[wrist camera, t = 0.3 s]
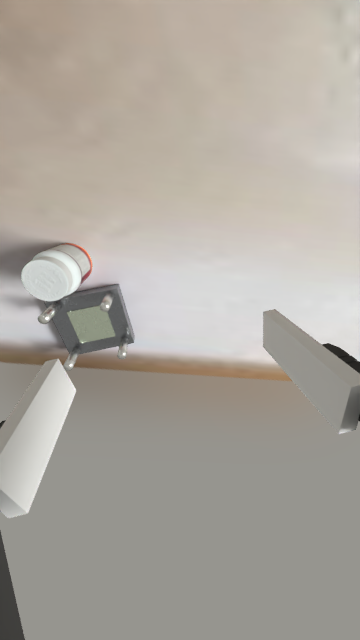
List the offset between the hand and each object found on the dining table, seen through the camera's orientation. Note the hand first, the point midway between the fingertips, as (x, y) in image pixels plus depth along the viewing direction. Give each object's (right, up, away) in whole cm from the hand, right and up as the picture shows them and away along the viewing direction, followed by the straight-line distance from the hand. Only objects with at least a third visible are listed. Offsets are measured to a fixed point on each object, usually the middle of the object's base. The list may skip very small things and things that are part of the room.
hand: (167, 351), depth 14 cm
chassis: (-15, +2, +26) cm, 30 cm away
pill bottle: (-17, +12, +22) cm, 30 cm away
